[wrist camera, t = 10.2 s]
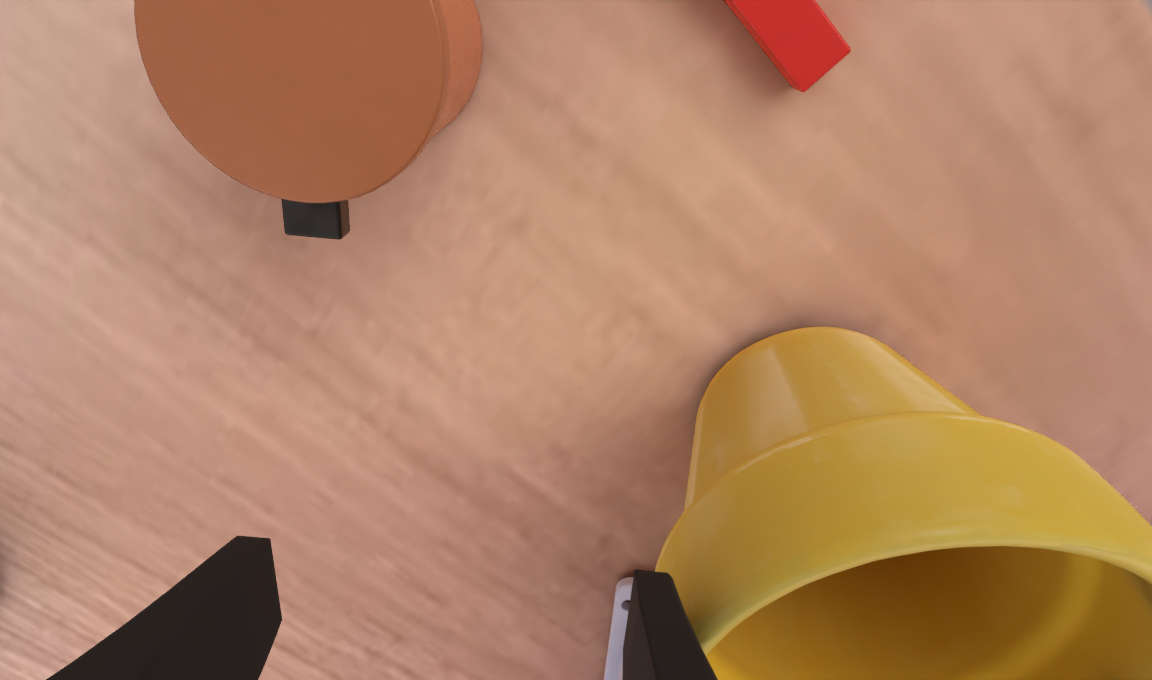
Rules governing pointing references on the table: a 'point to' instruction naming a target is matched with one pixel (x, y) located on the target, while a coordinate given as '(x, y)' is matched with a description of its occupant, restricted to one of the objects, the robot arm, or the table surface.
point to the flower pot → (896, 531)
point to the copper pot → (311, 90)
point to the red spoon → (793, 37)
